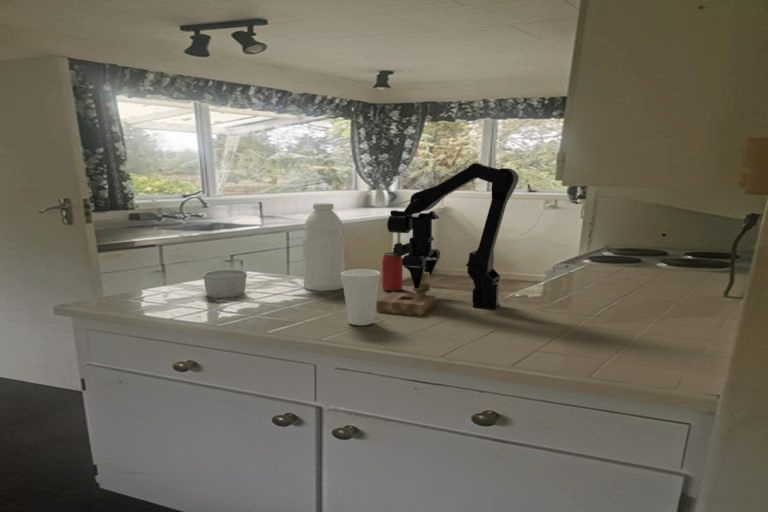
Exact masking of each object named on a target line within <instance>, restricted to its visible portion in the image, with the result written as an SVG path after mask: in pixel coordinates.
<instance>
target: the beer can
mask: <svg viewBox="0 0 768 512" xmlns="http://www.w3.org/2000/svg"><path fill="white" fill-rule="evenodd" d="M402 258H403V256H400V257H398V258H397V257H396V254H395V253H393V252H384V253H383V257H382V263H381V265H382V269H381V270H382V271H381V273H382V274H381V275H382V277H381V279H382V283H381V284H382V285H381V287H382V290H383V291H385V292H391V293H392V292H400V291H402V290H403V267H404V266H403V265H402Z"/></svg>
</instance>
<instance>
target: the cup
mask: <svg viewBox="0 0 768 512" xmlns="http://www.w3.org/2000/svg"><path fill="white" fill-rule="evenodd" d="M381 273H382V272H380V271H379V270H376V269H366V268H360V269H359V268H357V269H347V270H345V271H343V272H341V279H342V282H343V288H342V289H343V294H344V301H345V305H346V312H347V319H348V323H349V324H351V325H354V326H368V325H371V324H373V323H374V321H375V315H376V309H377V300H378V293H379V288H380V287H379V286H380V282H381V278H382V277H381V275H382V274H381Z"/></svg>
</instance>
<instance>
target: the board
mask: <svg viewBox="0 0 768 512" xmlns="http://www.w3.org/2000/svg"><path fill="white" fill-rule="evenodd" d="M435 307H436V296H435V295H428V294H426V295H419V294H417V293H406V292H398V291H393V292H392V291H391V292H389V294H386V295H385V296H383V297H381V298H379V299H377V301H376V312H378V313H379V312H380V313H389V314H399V315H408V316H417V317H423V316H424V315H425V314H426V313H428V312H429V311H431V309H433V308H435Z"/></svg>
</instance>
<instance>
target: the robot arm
mask: <svg viewBox="0 0 768 512" xmlns="http://www.w3.org/2000/svg"><path fill="white" fill-rule="evenodd" d="M477 179H479V180H482V181H485V182H488V183H491V189H490V190H491V200H490V201H491V202H490V204H489V209H488V213H487V215H486V220H485V223H484V227H483V229H482V230H483V231H482V234H481V237H480V241H479V244H478V247H477V249H476V250H473V251H471V252H470V253H469V256H468V261H467V263H466V265H465V267H467V274H468V275H469V278H470V279H472V281H473V282H472V283H473V285H474V288H473V290H472V301H471V303H472V307H473V308H482V309H483V308H484V309H493V310H495V309H497V307H498V306H499V305H500V302H499V284H497V283H499V281H500V279H501V275H500V274H499V273H498V272H497V271H496V270H495V269H494V260H495V257H494V256H495V253H494V252H495V251H494V249H495V245H496V242H497V238H498V235H499V232H500V228H501V226H502V225H501V224H502V221H503V218H504V217H503V216H504V214H505V211H506V207H507V203H508V202H509V199H510V198H511V197H512V194H514V191H515V189H516V186H517V185H518V183H519V179H520V178H519V175H518V173H517V171H516V170H514V169H512V168H507V167H502V168H499V169H498V168H496V167H493V166H488V165H484V164H482V163H478V162H473V163H471V164H470V165H469V166H468V167H466V168H464V169H462V170H461V171H459V172H457V173H455V174H454V175H452V176H451V177H449V178H447V179H445V180H444V181H442V182H439V184H436V185H435V186H432V187H427V188H425V189H422V190H420V191H417V192H415V193H413V194H412V195H411V196H410V203H409V204H408V205H407V207H406V208H405V209H404V211H403V210H402V211H401V210H395V209H393V210H390V215H389V217H388V220H387V222H386V225H387V231H388V232H389V233H395V234H409V233H410V232H411V231H412V237H409V242H406V243H404V244H403V243H402V242H398V243H395V244H394V245H393V248H392V249H393V251H392V253H395V254H396V257H397V258H398V257H400V256H401V257H402V265H403V267H404V268H405V269H407V270H408V271H409V272H410V276H411V281H412V285H413V284H414V287H415V288H417V289H418V288H419V286H420V283H421V280H422V277H423V274H424V272H429V273H430V278H432V275H433V272H434V270H435V269H436V266H437V264H438V262H439V259H441V251H440V250H439V249H438V248H432V247H433V245H432V243H433V241H434V236H432V235H433V232H432V231H433V228H432V227H433V221H434V220H438V219H439V218H440V217H439V215H438V214H436V212H435V211H434V210H432V209H433V208H434V207H435V206H437V205H438V204H439V203H440V202H441V201H442V200H443V199H444V198H445V197H446V196H448V195H451V194H452V193H453V192H455V191H457V190H459V189H461V188H463V187H464V186H466V185H468V184H470V183H471V182H474V181H475V180H477ZM426 211H429V212H428V213H425V212H426ZM421 212H422V213H421ZM417 214H418V216H417ZM414 215H415V216H414ZM403 256H404V257H403Z"/></svg>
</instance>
